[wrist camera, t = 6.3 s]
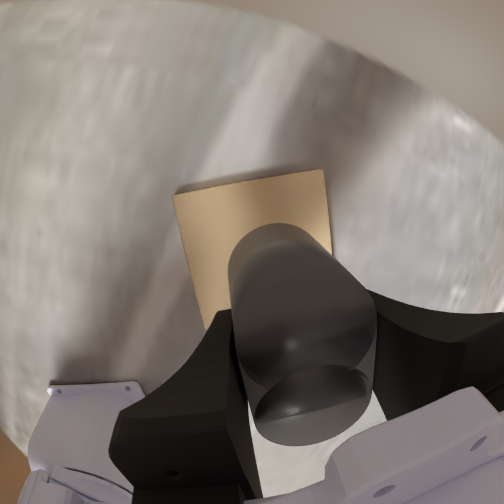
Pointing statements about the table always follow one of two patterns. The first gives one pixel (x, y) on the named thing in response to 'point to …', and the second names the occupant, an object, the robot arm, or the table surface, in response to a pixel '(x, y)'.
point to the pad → (243, 225)
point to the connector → (300, 335)
